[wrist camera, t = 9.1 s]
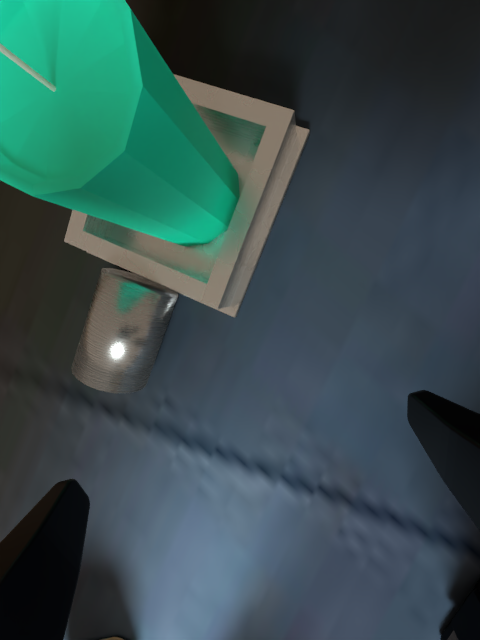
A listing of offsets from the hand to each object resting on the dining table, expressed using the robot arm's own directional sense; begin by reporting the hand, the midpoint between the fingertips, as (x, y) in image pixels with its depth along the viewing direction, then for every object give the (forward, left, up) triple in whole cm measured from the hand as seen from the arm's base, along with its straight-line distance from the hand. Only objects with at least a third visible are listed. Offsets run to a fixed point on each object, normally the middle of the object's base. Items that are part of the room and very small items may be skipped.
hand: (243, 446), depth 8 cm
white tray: (+9, -4, -11) cm, 15 cm away
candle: (+9, -7, -10) cm, 15 cm away
